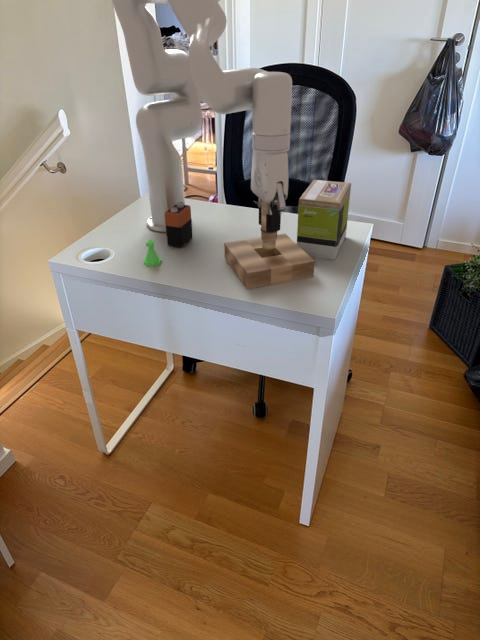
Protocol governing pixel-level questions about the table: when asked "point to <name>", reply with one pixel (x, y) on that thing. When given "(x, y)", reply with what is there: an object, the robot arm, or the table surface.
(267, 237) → the peg
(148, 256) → the game piece
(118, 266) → the table surface
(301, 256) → the board
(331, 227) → the tea box
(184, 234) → the battery
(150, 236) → the table surface
